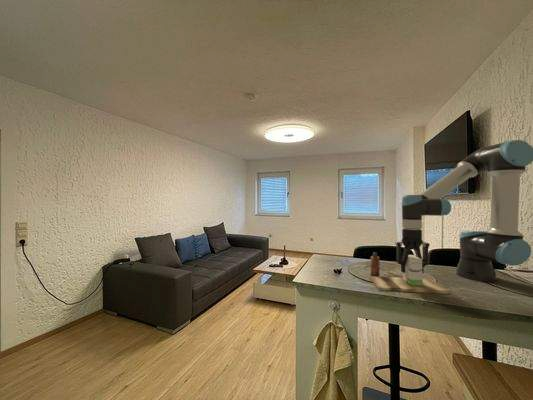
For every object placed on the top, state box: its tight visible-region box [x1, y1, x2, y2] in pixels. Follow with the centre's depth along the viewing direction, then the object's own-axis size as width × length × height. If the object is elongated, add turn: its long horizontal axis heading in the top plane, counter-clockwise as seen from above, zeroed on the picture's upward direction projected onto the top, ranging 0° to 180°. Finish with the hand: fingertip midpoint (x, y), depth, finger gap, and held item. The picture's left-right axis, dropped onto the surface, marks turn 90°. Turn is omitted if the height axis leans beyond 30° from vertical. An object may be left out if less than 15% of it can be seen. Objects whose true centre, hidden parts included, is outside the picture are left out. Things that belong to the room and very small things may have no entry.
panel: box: [368, 275, 451, 295], centre depth 103 cm, size 28×14×1 cm, turn 81°
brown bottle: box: [370, 252, 380, 277], centre depth 116 cm, size 4×4×12 cm
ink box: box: [405, 254, 423, 286], centre depth 102 cm, size 9×5×12 cm, turn 170°
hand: (412, 279), depth 102 cm, fingers closed on ink box, 5 cm apart
